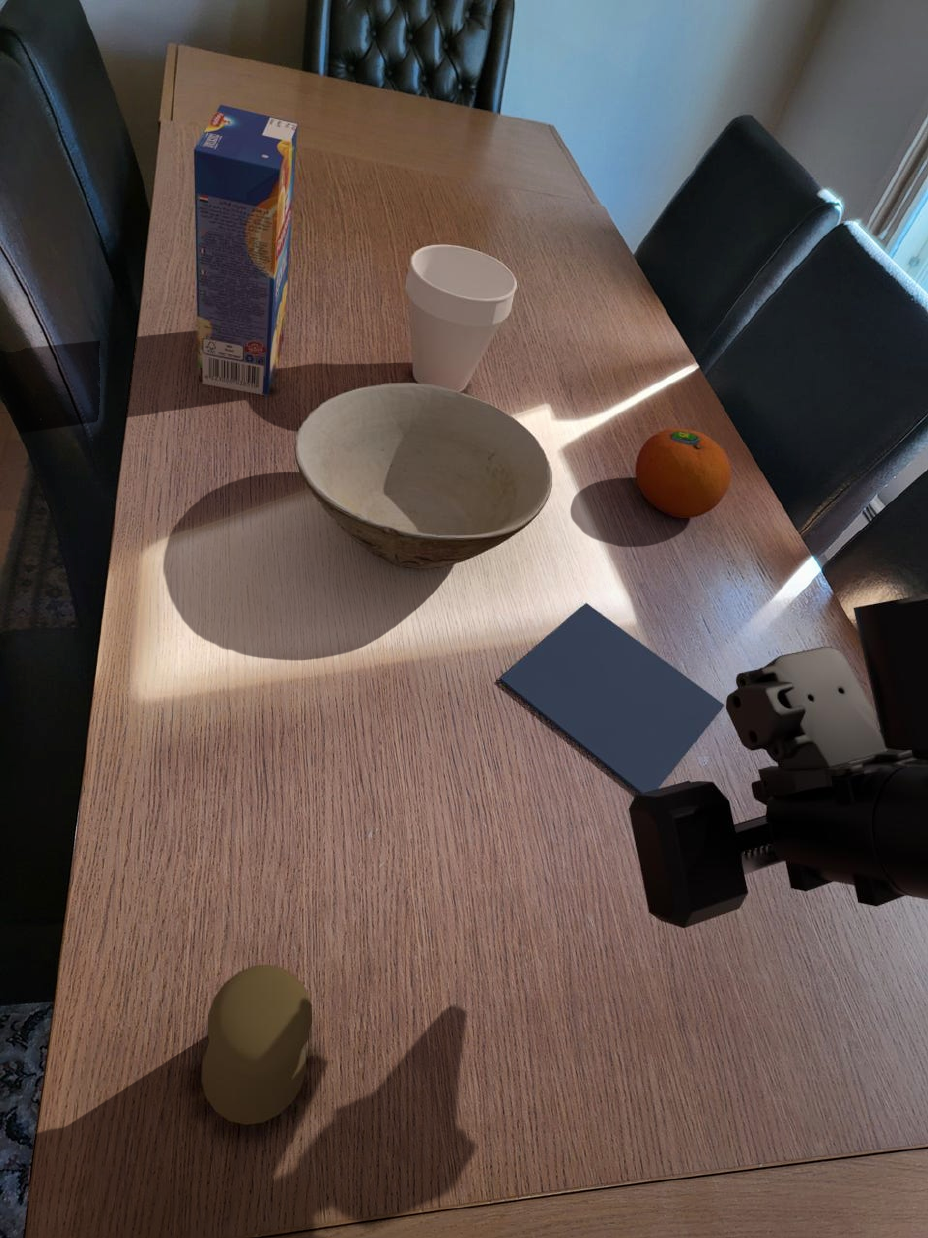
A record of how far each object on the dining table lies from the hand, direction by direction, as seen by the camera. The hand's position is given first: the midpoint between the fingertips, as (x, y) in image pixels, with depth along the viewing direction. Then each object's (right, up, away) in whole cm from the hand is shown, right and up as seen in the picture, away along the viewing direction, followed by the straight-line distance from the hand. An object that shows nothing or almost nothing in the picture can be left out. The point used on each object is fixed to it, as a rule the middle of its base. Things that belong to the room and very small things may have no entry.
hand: (696, 806), depth 51 cm
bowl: (-20, +20, +32) cm, 43 cm away
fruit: (+9, +25, +45) cm, 52 cm away
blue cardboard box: (-40, +41, +44) cm, 72 cm away
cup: (-17, +41, +51) cm, 68 cm away
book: (-1, +5, +23) cm, 24 cm away
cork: (-27, -15, -2) cm, 31 cm away
